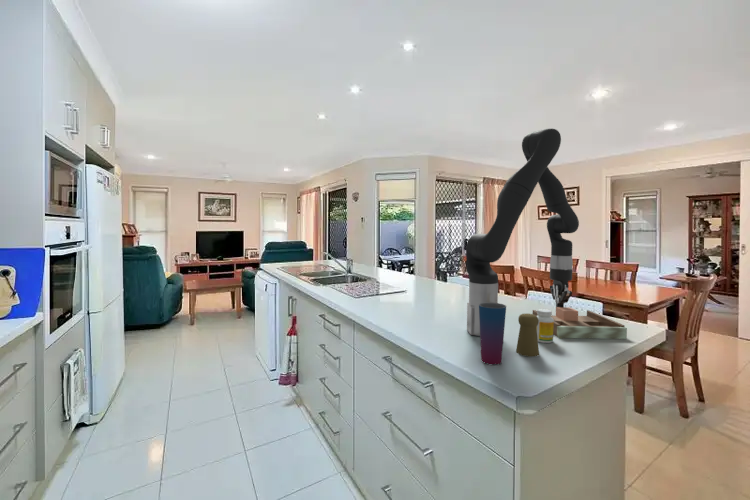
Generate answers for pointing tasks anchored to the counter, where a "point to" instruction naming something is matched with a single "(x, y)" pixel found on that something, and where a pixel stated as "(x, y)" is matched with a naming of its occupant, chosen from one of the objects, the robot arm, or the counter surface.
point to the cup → (492, 331)
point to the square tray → (588, 327)
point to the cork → (528, 336)
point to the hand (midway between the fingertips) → (559, 312)
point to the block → (567, 314)
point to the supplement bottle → (545, 326)
